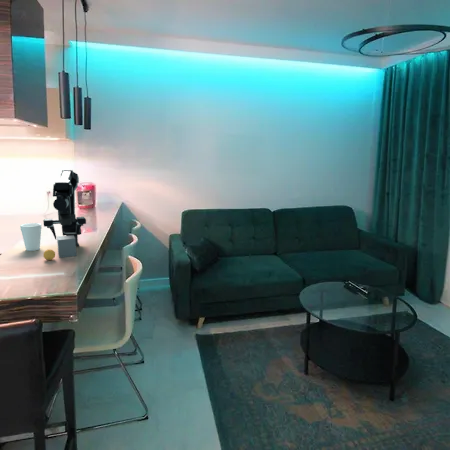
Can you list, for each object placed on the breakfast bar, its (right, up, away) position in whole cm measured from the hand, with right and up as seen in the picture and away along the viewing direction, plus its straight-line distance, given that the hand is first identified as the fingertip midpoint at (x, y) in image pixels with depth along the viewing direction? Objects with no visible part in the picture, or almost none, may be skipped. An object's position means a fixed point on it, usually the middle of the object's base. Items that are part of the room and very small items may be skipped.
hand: (66, 238), depth 169 cm
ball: (-4, -7, -8) cm, 12 cm away
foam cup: (-22, -6, +10) cm, 25 cm away
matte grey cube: (0, -8, +2) cm, 8 cm away
